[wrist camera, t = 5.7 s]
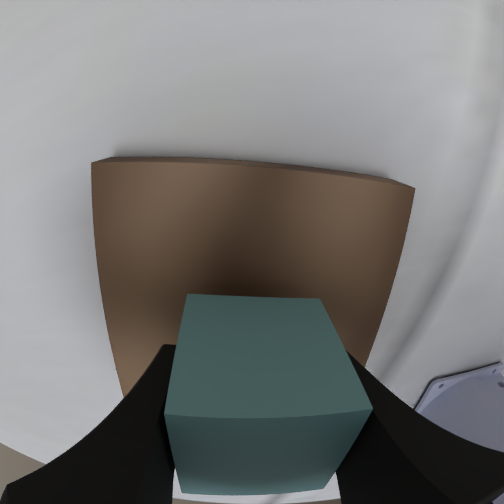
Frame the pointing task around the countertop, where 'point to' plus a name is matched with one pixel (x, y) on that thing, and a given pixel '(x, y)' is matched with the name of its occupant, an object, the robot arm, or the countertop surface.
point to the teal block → (260, 396)
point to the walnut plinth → (240, 245)
